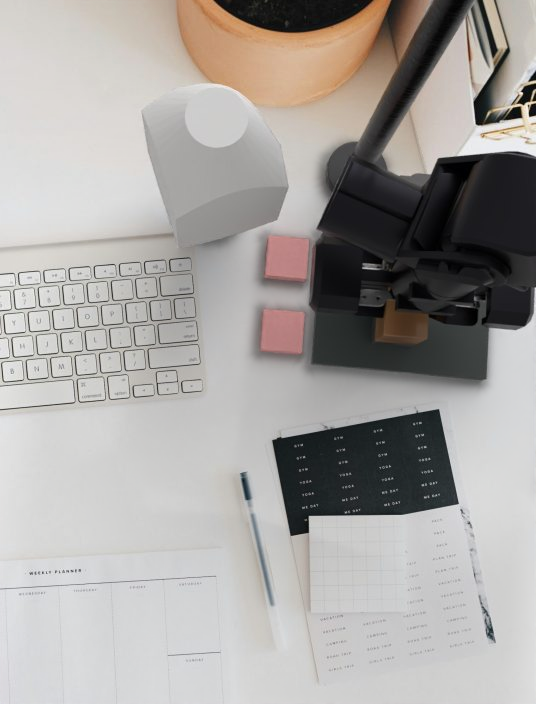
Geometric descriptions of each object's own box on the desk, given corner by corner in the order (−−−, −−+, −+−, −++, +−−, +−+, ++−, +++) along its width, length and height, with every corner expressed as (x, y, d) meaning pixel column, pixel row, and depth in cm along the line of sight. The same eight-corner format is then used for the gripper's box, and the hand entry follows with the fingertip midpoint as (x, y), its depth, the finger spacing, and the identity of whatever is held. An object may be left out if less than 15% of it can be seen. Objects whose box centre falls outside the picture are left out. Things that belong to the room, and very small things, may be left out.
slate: (488, 251, 74) (492, 248, 73) (482, 380, 73) (486, 379, 72) (320, 234, 73) (322, 231, 72) (311, 364, 72) (312, 363, 71)
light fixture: (270, 240, 73) (297, 159, 53) (180, 266, 72) (173, 195, 52) (242, 152, 74) (258, 41, 54) (152, 178, 73) (135, 74, 53)
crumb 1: (307, 242, 73) (309, 239, 72) (304, 282, 73) (306, 279, 72) (267, 238, 73) (268, 234, 72) (264, 278, 73) (265, 275, 71)
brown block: (416, 266, 72) (432, 252, 67) (411, 347, 72) (427, 339, 67) (375, 262, 72) (389, 248, 67) (370, 343, 71) (383, 335, 66)
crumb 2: (303, 314, 73) (305, 312, 71) (300, 354, 72) (302, 353, 71) (262, 311, 72) (263, 308, 71) (259, 351, 72) (260, 349, 71)
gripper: (573, 170, 57) (494, 232, 73) (333, 146, 56) (305, 214, 72) (569, 312, 56) (489, 344, 71) (323, 289, 55) (297, 326, 71)
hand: (395, 303), depth 71 cm, fingers closed on brown block, 4 cm apart
